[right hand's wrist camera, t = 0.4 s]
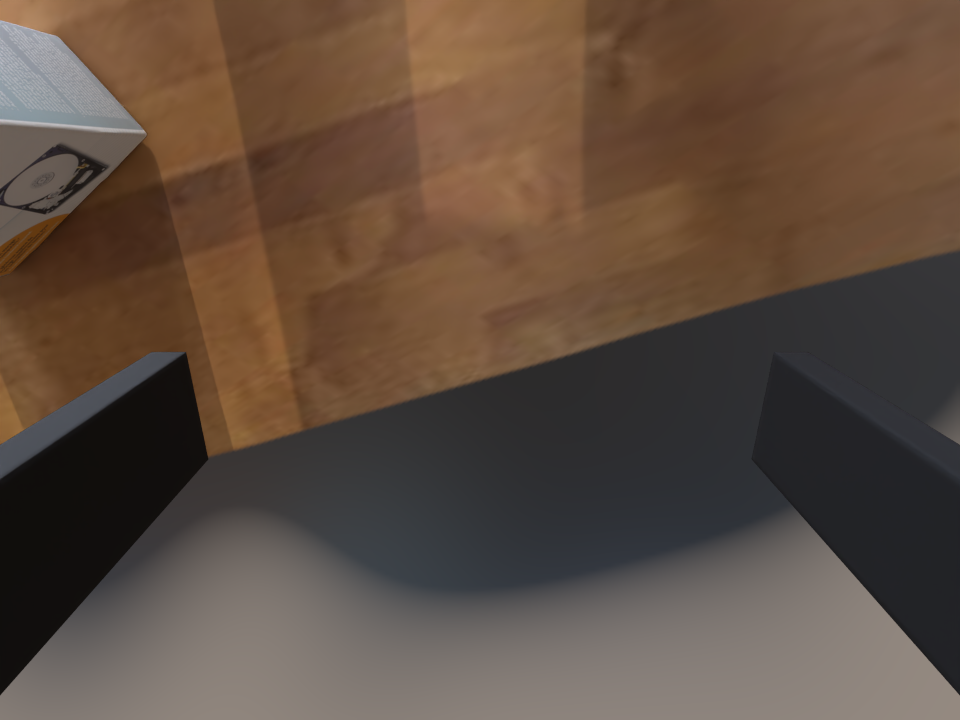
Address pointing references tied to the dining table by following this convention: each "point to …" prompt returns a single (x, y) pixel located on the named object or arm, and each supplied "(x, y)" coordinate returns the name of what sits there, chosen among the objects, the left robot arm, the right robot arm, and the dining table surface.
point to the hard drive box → (51, 138)
